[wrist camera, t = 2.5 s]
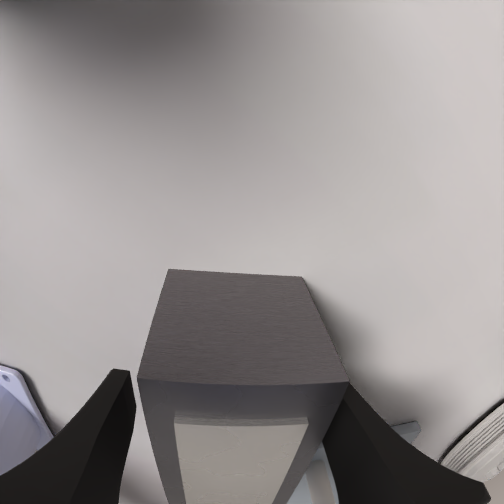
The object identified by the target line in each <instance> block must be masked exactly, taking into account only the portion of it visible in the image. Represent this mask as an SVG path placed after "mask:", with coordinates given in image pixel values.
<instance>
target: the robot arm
mask: <svg viewBox="0 0 504 504" xmlns="http://www.w3.org/2000/svg"><path fill="white" fill-rule="evenodd" d="M135 414H136V402H135V397H134V392H133V387H132V381H131V376H130V371H127V370H120V369H112V370H111V371H110V372H109V374H108V375H107V377H106V378H105V379H104V381H103V382H102V383H101V385H100V386H99V387H98V389H97V390H96V391H95V392H94V394H93V395H92V396H91V397H90V399H89V400H88V401H87V402H86V403H85V405H84V406H83V407H82V408H81V409H80V411H79V412H78V413H77V414H76V415H75V416H74V417H73V418H72V419H71V420H70V422H69V423H68V424H67V425H66V426H65V427H64V428H63V429H62V430H61V431H60V432H59V433H58V434H57V435H56V436H55V437H53V435H52V433H51V431H50V430H49V428H48V426H47V424H46V423H45V421H44V419H43V417H42V415H41V413H40V411H39V409H38V408H37V406H36V404H35V402H34V400H33V398H32V396H31V393H30V391H29V389H28V387H27V385H26V383H25V381H24V378H23V376H22V375H21V374H20V373H19V372H18V371H16V370H14V369H11V368H8V367H5V366H2V365H0V504H118V502H119V491H120V484H121V478H122V474H123V470H124V466H125V462H126V458H127V453H128V449H129V445H130V441H131V437H132V433H133V429H134V421H135ZM322 443H323V446H324V449H325V453H326V456H327V459H328V462H329V465H330V469H331V472H332V475H333V478H334V481H335V485H336V489H337V495H338V500H339V504H487V503H489V502H490V500H491V497H490V495H489V493H488V491H487V489H486V488H485V485H484V484H483V482H480V481H477V480H474V479H471V478H469V477H466V476H463V475H461V474H459V473H457V472H455V471H452V470H450V469H448V468H446V467H445V466H443V465H441V464H439V463H437V462H436V461H434V460H433V459H431V458H429V457H428V456H426V455H425V454H423V453H422V452H420V451H419V450H418V449H416V448H415V447H414V446H412V445H411V444H410V443H408V442H407V441H406V440H405V439H403V438H402V437H401V436H400V435H399V434H398V433H397V432H396V431H394V430H393V429H392V428H391V427H390V426H389V425H388V424H387V423H386V422H385V421H384V420H383V419H382V418H381V417H380V416H379V415H378V414H377V413H376V412H375V411H374V410H373V409H372V408H371V406H370V405H369V404H368V403H367V402H366V401H365V400H364V399H363V398H362V397H361V395H360V394H359V393H358V392H357V391H356V390H355V389H354V388H353V386H352V385H351V384H350V383H349V384H348V387H347V389H346V391H345V394H344V396H343V398H342V400H341V402H340V405H339V407H338V409H337V411H336V413H335V415H334V418H333V420H332V422H331V424H330V426H329V428H328V430H327V432H326V434H325V436H324V438H323V440H322ZM36 450H38V451H37V452H36V453H35V451H36Z"/></svg>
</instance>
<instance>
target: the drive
mask: <svg viewBox="0 0 504 504" xmlns="http://www.w3.org/2000/svg"><path fill="white" fill-rule="evenodd" d="M137 382H138V387H139V392H140V397H141V402H142V407H143V411H144V416H145V420H146V425H147V429H148V433H149V437H150V441H151V445H152V449H153V453H154V456H155V460H156V464H157V467H158V471H159V474H160V477H161V481H162V484H163V487H164V490H165V494H166V497H167V500H168V503H169V504H287V502H288V501H289V499H290V497H291V496H292V494H293V492H294V491H295V489H296V487H297V486H298V484H299V482H300V480H301V479H302V477H303V475H304V473H305V472H306V470H307V468H308V466H309V464H310V463H311V461H312V459H313V457H314V455H315V453H316V451H317V450H318V448H319V446H320V444H321V442H322V440H323V438H324V436H325V434H326V432H327V430H328V428H329V426H330V424H331V422H332V420H333V418H334V415H335V413H336V411H337V409H338V407H339V405H340V402H341V400H342V398H343V396H344V394H345V391H346V389H347V387H348V384H349V382H350V380H349V378H348V376H347V374H346V371H345V369H344V367H343V365H342V363H341V360H340V358H339V356H338V354H337V351H336V349H335V347H334V345H333V343H332V340H331V338H330V336H329V334H328V332H327V330H326V327H325V325H324V323H323V321H322V319H321V317H320V314H319V312H318V310H317V308H316V306H315V304H314V302H313V300H312V297H311V295H310V293H309V291H308V289H307V287H306V285H305V283H304V281H303V278H302V277H297V276H277V275H258V274H240V273H223V272H207V271H192V270H177V269H168V272H167V275H166V278H165V282H164V285H163V288H162V291H161V294H160V298H159V301H158V304H157V307H156V311H155V314H154V317H153V321H152V324H151V328H150V331H149V335H148V338H147V342H146V345H145V349H144V353H143V356H142V360H141V364H140V367H139V371H138V375H137Z"/></svg>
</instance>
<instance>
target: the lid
mask: <svg viewBox="0 0 504 504" xmlns="http://www.w3.org/2000/svg"><path fill="white" fill-rule="evenodd" d="M441 465H443V466H445V467H446V468H448V469H450V470H452V471H455V472H457V473H459V474H461V475H463V476H466V477H469V478H471V479H474V480H477V481H480V482H485V481H487V480H490V479H492V478H493V477H494V476H496V475H497V474H498V473H499V472H500V471H501V470H502V469H504V403H503V404H502V405H501V406H499V407H498V408H497V409H496V410H495V411H493V412H492V413H491V414H490V415H489V416H487V417H486V418H485V419H484V420H483V421H482V422H481V423H479V424H478V425H477V426H476V427H475V428H474V429H473V430H472V431H471V432H469V433H468V434H467V435H466V436H465V437H464V438H463V439H462V440H461V441H460V442H459V443H458V444H457V445H456V446H455V447H454V448H453V449H452V450H451V451H450V452H449V453H448V455H447V456H446V457H445V458H444V459H443V461H442V462H441Z"/></svg>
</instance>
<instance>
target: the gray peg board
mask: <svg viewBox="0 0 504 504" xmlns="http://www.w3.org/2000/svg"><path fill="white" fill-rule="evenodd" d="M391 428H392V429H393V430H394V431H396V432H397V433H398V434H399V435H400V436H401V437H402V438H403V439H405V440H406V441H407V442H408V443H410V444H411V443H412V442H413V440H414V439H415V438H416V437H417V435H418V434H419V433H420V432H421V428H420V426H419V424H418V422H417V421H415V422H410V423H406V424H401V425H396V426H391ZM287 504H339V500H338V495H337V489H336V485H335V481H334V478H333V475H332V472H331V469H330V465H329V462H328V459H327V456H326V453H325V449H324V446H323V443H322V442H321V444H320V446H319V448H318V450H317V451H316V453H315V455H314V457H313V459H312V461H311V463H310V464H309V466H308V468H307V470H306V472H305V473H304V475H303V477H302V479H301V480H300V482H299V484H298V486H297V487H296V489H295V491H294V492H293V494H292V496H291V497H290V499H289V501H288V502H287Z"/></svg>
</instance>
